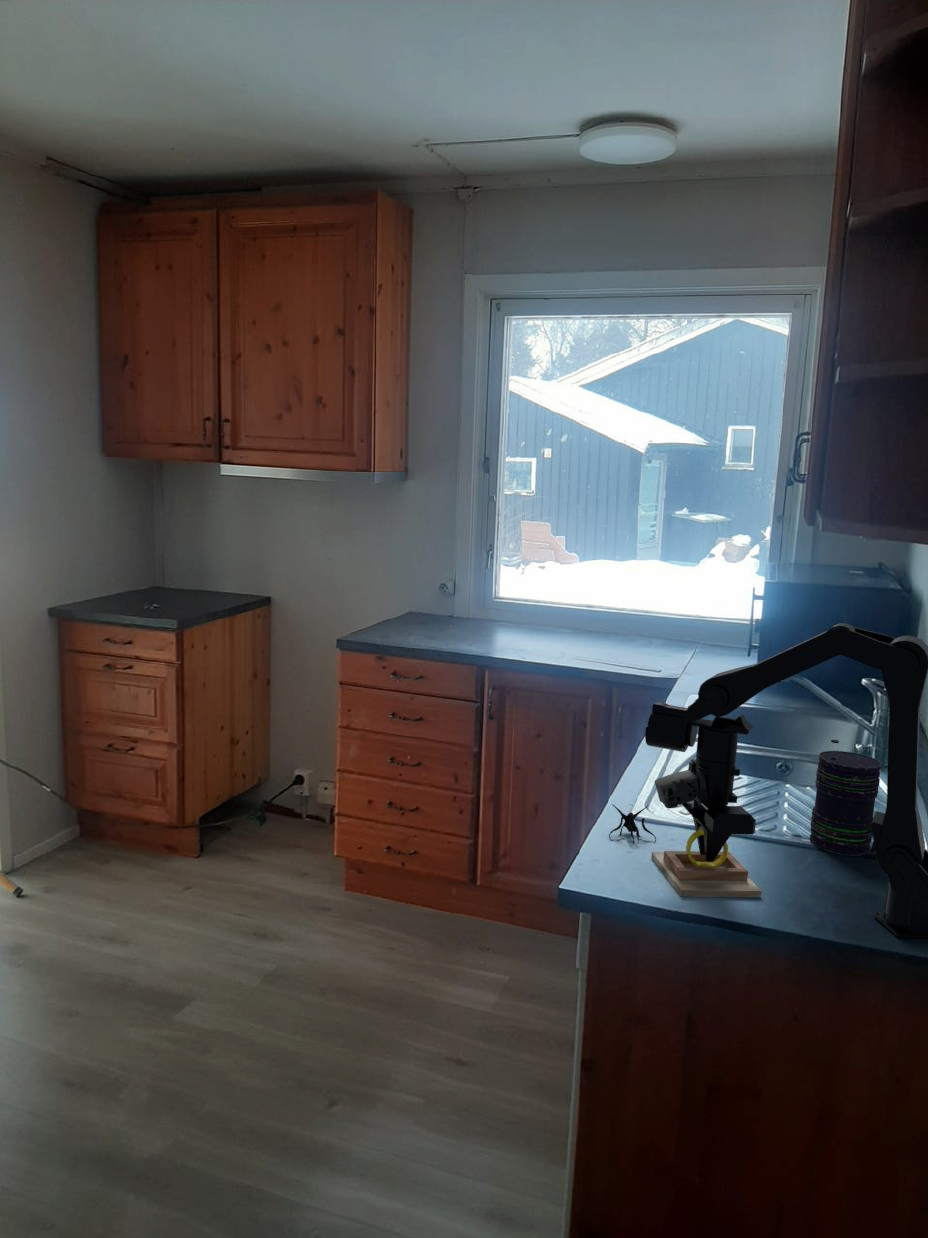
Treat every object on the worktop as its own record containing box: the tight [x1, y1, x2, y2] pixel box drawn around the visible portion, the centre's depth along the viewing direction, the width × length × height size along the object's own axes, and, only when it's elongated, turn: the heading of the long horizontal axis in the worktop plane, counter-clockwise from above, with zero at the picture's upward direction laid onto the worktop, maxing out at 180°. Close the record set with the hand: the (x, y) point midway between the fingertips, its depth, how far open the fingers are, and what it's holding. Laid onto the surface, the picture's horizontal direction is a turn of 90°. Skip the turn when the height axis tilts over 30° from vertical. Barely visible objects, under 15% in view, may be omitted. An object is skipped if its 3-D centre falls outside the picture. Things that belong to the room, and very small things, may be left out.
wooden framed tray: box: [650, 850, 763, 898], centre depth 141 cm, size 14×12×2 cm
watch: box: [685, 826, 729, 868], centre depth 141 cm, size 6×3×6 cm, turn 89°
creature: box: [608, 804, 657, 845], centre depth 155 cm, size 8×5×8 cm
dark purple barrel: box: [809, 739, 882, 857], centre depth 157 cm, size 10×10×18 cm
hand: (706, 858), depth 141 cm, fingers closed on watch, 2 cm apart
